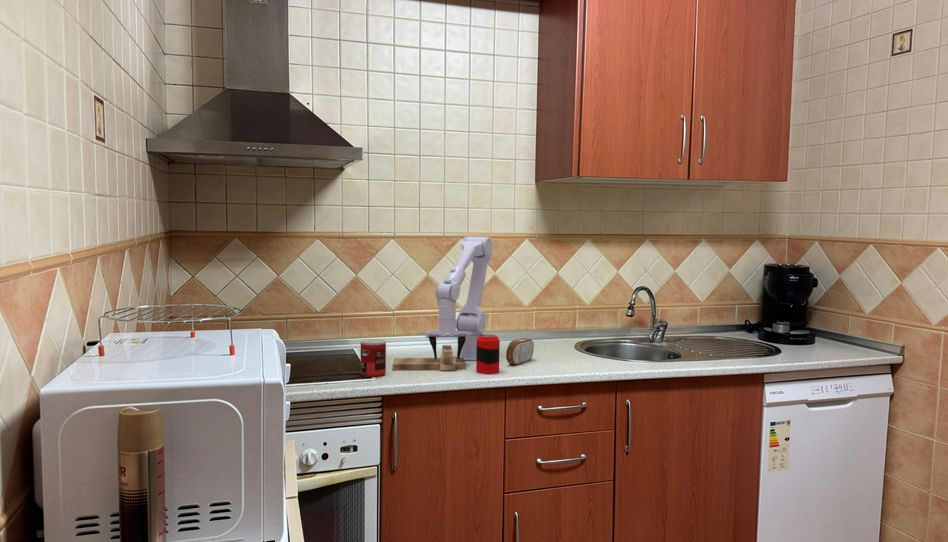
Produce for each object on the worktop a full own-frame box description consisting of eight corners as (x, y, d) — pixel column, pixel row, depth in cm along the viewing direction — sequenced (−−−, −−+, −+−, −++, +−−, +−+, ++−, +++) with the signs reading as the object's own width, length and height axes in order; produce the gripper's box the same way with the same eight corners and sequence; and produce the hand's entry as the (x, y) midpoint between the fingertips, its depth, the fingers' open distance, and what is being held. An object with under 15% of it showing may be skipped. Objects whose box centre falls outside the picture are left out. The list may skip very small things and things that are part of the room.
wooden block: (453, 362, 223) (453, 345, 222) (455, 370, 211) (455, 351, 211) (439, 362, 222) (439, 345, 222) (440, 370, 211) (440, 351, 210)
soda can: (480, 368, 216) (480, 332, 215) (501, 370, 214) (502, 334, 213) (473, 373, 209) (473, 336, 208) (495, 375, 206) (496, 338, 206)
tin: (527, 358, 232) (527, 335, 232) (535, 360, 231) (535, 336, 230) (505, 366, 220) (505, 341, 219) (512, 367, 218) (513, 342, 218)
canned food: (361, 372, 208) (361, 338, 208) (386, 372, 209) (386, 338, 208) (359, 378, 201) (359, 343, 200) (385, 377, 201) (385, 343, 201)
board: (463, 363, 224) (463, 357, 223) (465, 369, 214) (465, 363, 213) (393, 363, 221) (393, 358, 221) (392, 370, 211) (392, 364, 211)
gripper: (425, 320, 212) (425, 361, 213) (469, 320, 214) (469, 361, 215) (425, 317, 219) (425, 356, 220) (468, 317, 221) (467, 356, 222)
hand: (447, 358), depth 218 cm, fingers open, 7 cm apart
